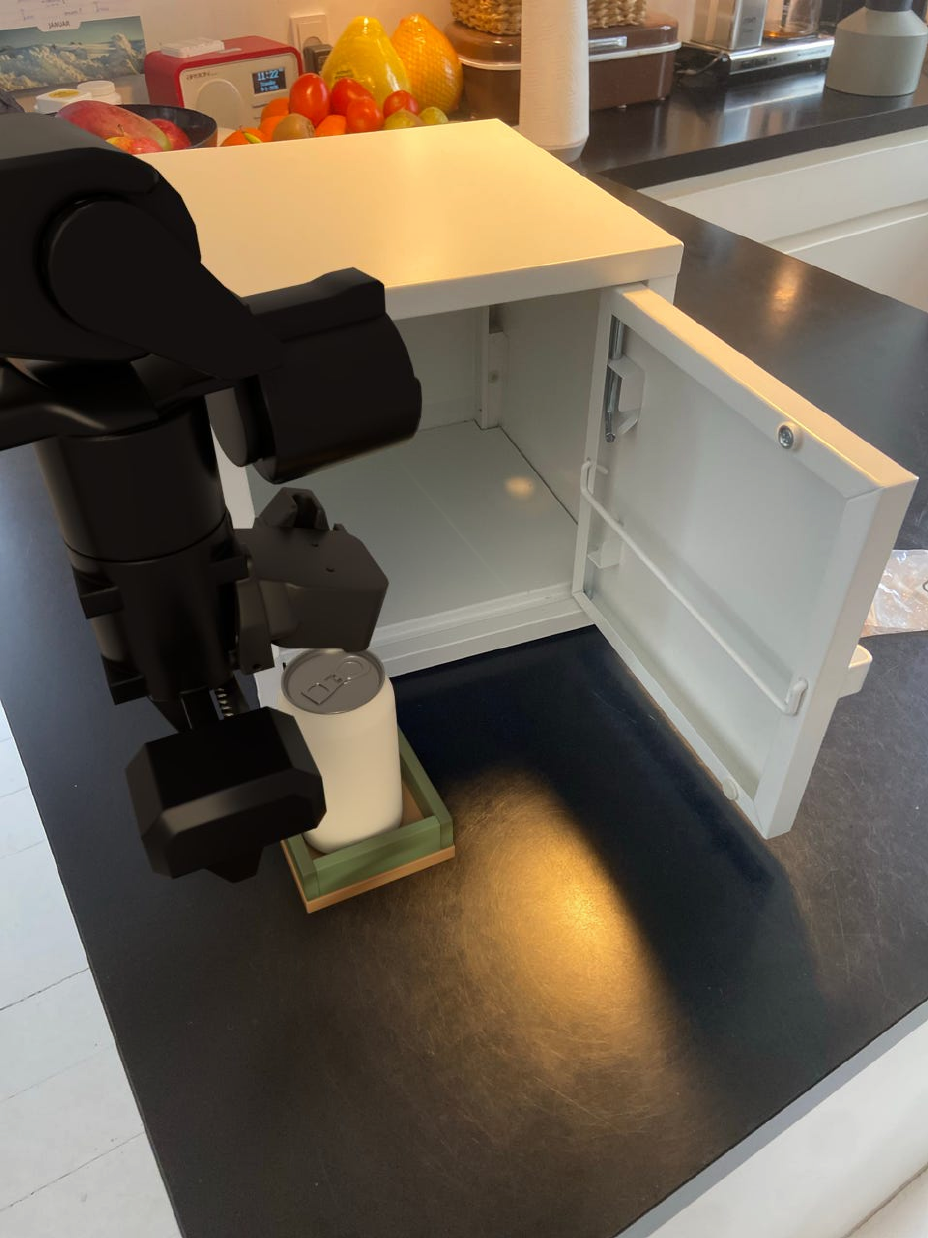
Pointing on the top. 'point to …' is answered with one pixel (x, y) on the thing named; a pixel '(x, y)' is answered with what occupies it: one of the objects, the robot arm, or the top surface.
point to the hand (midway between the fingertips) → (218, 801)
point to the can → (347, 742)
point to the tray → (378, 845)
